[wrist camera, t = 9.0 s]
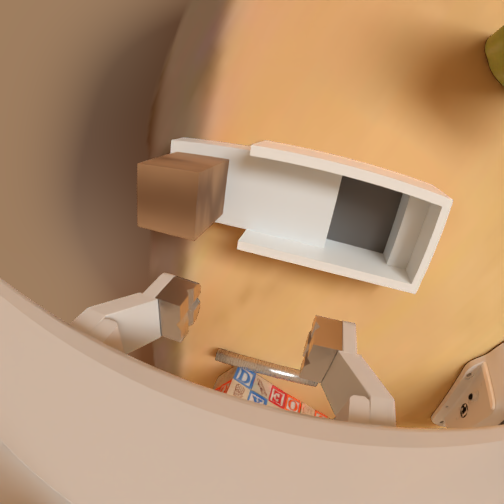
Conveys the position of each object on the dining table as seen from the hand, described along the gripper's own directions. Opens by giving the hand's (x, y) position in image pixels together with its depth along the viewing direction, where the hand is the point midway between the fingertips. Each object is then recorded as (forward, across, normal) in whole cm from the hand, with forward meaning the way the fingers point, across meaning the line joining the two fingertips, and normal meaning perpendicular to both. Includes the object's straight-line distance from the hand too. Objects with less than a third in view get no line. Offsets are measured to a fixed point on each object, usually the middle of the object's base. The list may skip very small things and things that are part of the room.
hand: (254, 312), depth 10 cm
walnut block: (+15, +9, 0) cm, 17 cm away
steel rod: (+17, -1, +23) cm, 29 cm away
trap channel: (+17, 0, 0) cm, 17 cm away
